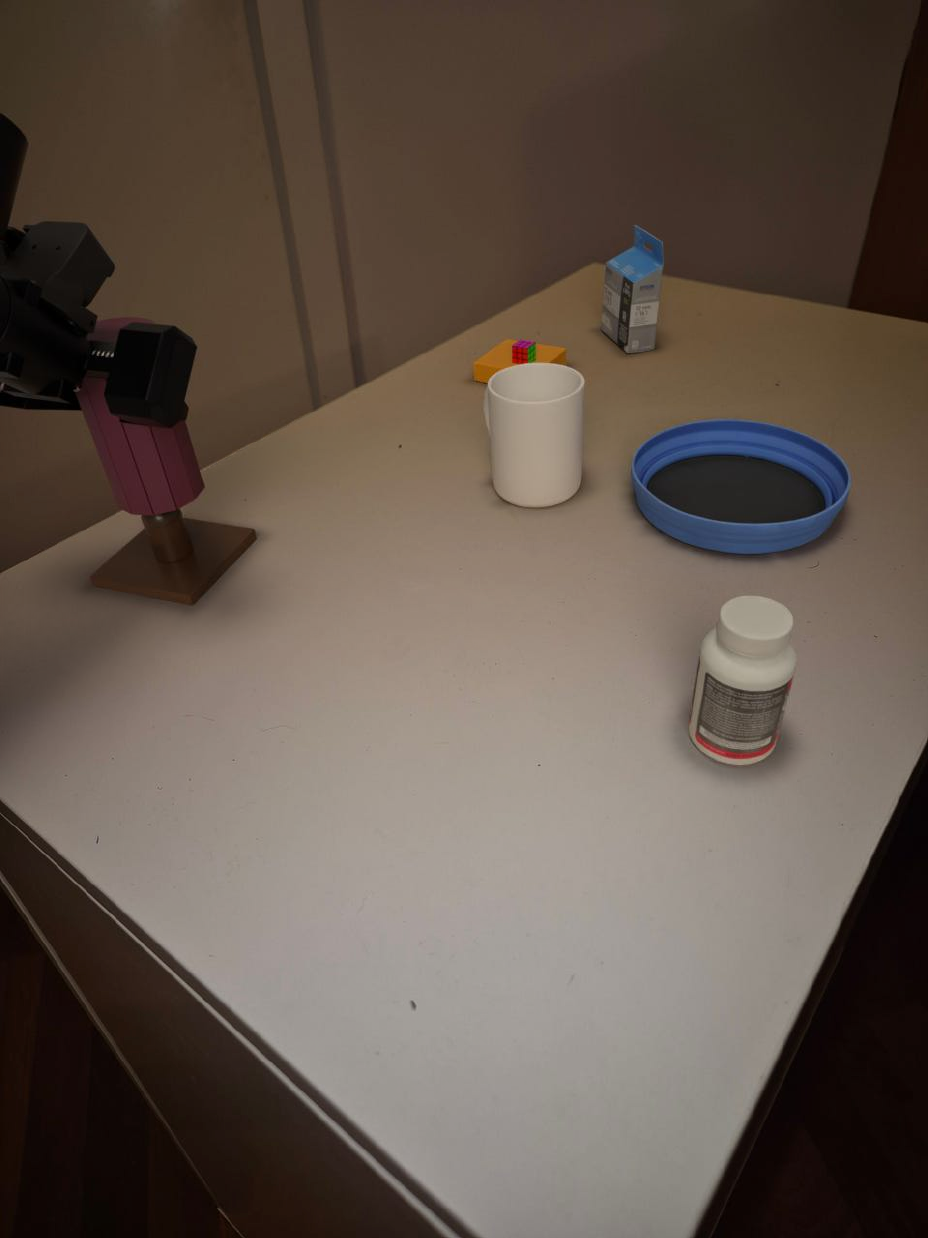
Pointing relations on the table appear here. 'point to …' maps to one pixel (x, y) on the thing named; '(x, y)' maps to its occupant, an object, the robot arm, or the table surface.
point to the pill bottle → (743, 681)
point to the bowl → (739, 485)
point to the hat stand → (174, 557)
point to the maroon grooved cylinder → (139, 447)
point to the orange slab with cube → (516, 357)
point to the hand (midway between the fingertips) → (147, 409)
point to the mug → (535, 432)
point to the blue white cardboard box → (633, 294)
